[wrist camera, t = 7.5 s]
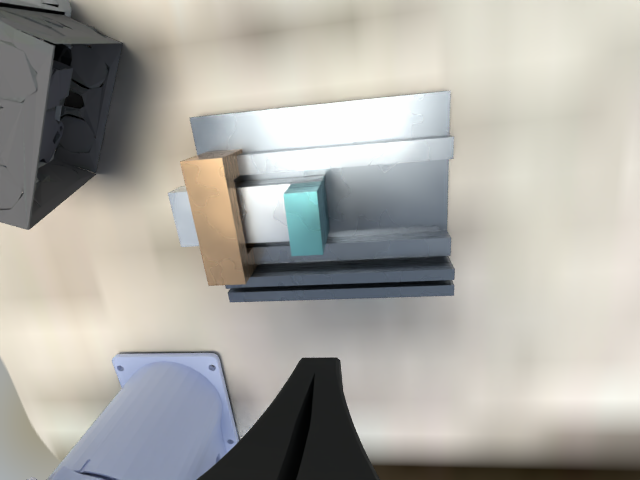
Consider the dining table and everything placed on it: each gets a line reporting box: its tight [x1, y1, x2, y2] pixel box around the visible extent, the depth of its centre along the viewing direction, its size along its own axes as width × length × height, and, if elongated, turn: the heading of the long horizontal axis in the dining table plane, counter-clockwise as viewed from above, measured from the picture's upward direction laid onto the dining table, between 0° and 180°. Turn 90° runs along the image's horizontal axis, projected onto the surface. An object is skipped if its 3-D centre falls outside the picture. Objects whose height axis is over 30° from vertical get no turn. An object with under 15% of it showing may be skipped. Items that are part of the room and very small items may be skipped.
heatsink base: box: [180, 91, 455, 302], centre depth 19 cm, size 10×13×4 cm
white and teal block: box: [168, 175, 330, 256], centre depth 19 cm, size 3×8×4 cm, turn 95°
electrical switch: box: [0, 0, 122, 230], centre depth 17 cm, size 9×5×9 cm, turn 155°
